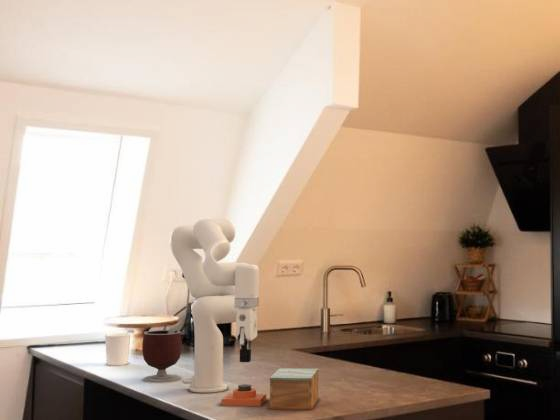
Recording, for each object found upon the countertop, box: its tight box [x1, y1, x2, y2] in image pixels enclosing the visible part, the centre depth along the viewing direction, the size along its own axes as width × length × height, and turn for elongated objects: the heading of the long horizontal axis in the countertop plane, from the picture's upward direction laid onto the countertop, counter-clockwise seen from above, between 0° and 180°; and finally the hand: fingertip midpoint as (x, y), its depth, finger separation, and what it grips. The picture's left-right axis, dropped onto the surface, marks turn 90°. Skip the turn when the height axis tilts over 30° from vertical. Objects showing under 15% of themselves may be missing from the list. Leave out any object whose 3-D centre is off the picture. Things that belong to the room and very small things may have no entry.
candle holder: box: [104, 332, 131, 366], centre depth 313 cm, size 10×10×12 cm
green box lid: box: [269, 367, 319, 381], centre depth 237 cm, size 16×13×1 cm
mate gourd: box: [141, 321, 183, 383], centre depth 280 cm, size 16×14×20 cm
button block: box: [221, 387, 267, 407], centre depth 239 cm, size 12×9×4 cm
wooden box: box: [269, 371, 319, 411], centre depth 237 cm, size 16×13×9 cm
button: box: [237, 383, 252, 391], centre depth 239 cm, size 4×4×2 cm
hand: (245, 361), depth 240 cm, fingers closed
